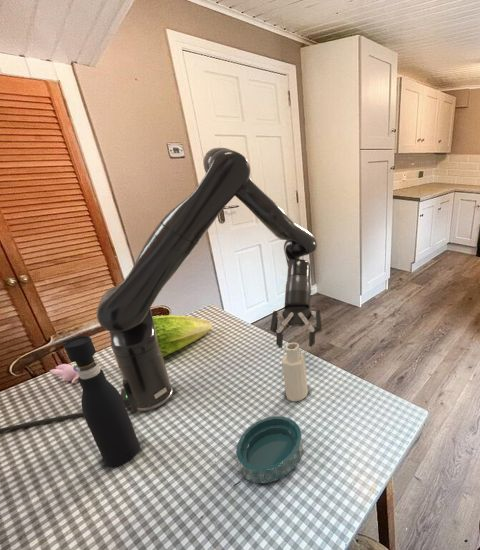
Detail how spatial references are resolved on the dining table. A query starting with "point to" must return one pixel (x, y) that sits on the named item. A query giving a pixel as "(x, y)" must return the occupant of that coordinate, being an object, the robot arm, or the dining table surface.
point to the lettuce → (178, 331)
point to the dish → (269, 449)
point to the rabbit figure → (66, 372)
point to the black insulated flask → (102, 406)
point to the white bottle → (294, 373)
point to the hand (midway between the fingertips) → (295, 347)
